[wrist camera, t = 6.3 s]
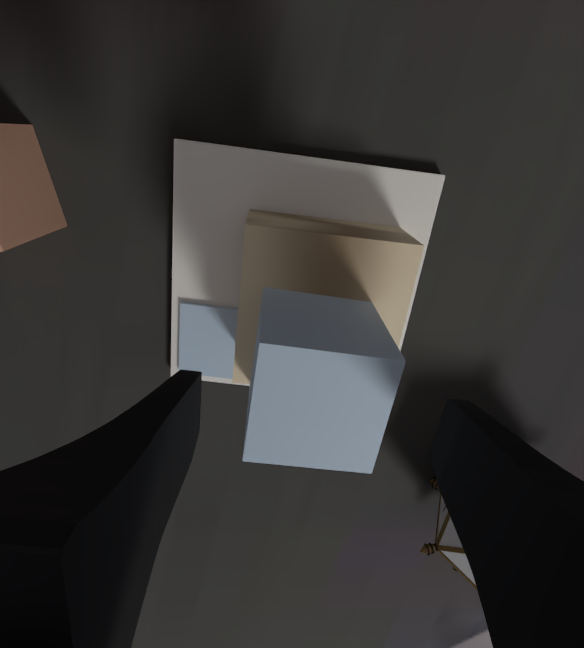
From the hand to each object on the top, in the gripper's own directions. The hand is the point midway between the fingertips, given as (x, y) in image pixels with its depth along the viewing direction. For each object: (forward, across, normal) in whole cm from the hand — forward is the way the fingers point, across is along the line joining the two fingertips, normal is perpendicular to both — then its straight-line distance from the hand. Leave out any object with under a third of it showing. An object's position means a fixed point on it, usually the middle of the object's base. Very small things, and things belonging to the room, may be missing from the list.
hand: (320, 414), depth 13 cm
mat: (+10, +1, 0) cm, 10 cm away
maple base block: (+10, 0, 0) cm, 10 cm away
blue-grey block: (+6, 0, +1) cm, 6 cm away
